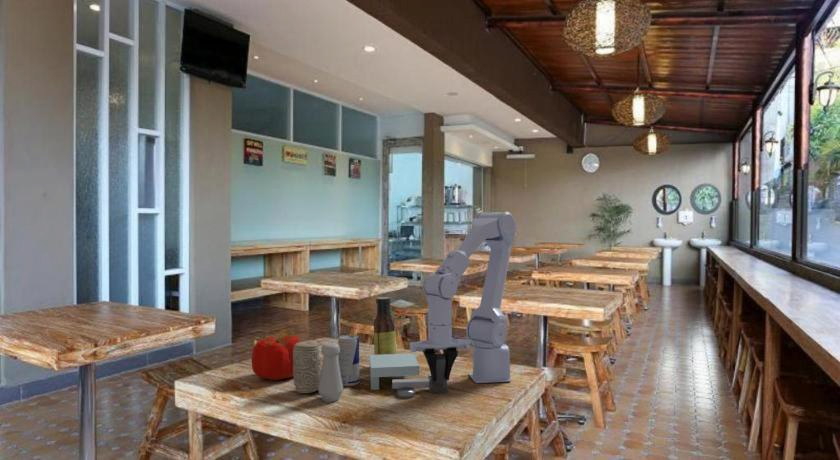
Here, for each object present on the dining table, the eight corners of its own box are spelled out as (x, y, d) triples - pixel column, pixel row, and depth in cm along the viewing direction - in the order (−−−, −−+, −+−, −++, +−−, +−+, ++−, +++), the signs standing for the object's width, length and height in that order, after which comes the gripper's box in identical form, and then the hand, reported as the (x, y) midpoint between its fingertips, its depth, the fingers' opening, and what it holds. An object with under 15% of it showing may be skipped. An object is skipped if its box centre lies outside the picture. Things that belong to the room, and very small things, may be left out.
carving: (305, 385, 128) (304, 338, 128) (327, 390, 125) (327, 342, 124) (286, 392, 123) (286, 343, 123) (310, 398, 119) (309, 347, 119)
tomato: (298, 367, 145) (298, 330, 144) (309, 380, 133) (308, 340, 132) (248, 373, 139) (248, 335, 138) (255, 388, 127) (254, 346, 127)
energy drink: (363, 381, 131) (363, 335, 131) (352, 387, 126) (351, 340, 126) (345, 378, 134) (345, 333, 133) (334, 384, 129) (333, 338, 128)
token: (415, 392, 123) (415, 387, 123) (415, 398, 119) (415, 393, 119) (397, 392, 123) (397, 387, 123) (396, 398, 119) (396, 393, 119)
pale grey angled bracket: (414, 373, 138) (413, 353, 138) (419, 387, 126) (419, 365, 126) (369, 375, 137) (369, 354, 136) (371, 390, 125) (370, 367, 125)
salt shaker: (338, 404, 115) (337, 347, 115) (314, 402, 116) (313, 346, 116) (346, 395, 121) (346, 341, 121) (324, 393, 122) (323, 340, 122)
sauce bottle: (400, 366, 145) (400, 297, 145) (388, 371, 140) (387, 300, 139) (382, 362, 148) (382, 295, 148) (369, 368, 143) (368, 298, 143)
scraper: (445, 379, 127) (447, 350, 123) (447, 392, 123) (450, 362, 119) (391, 381, 125) (393, 351, 122) (392, 393, 121) (393, 363, 118)
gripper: (463, 318, 127) (463, 372, 127) (407, 321, 123) (407, 376, 124) (472, 324, 120) (472, 381, 120) (413, 327, 117) (413, 385, 117)
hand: (440, 379), depth 121 cm, fingers closed on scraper, 2 cm apart
